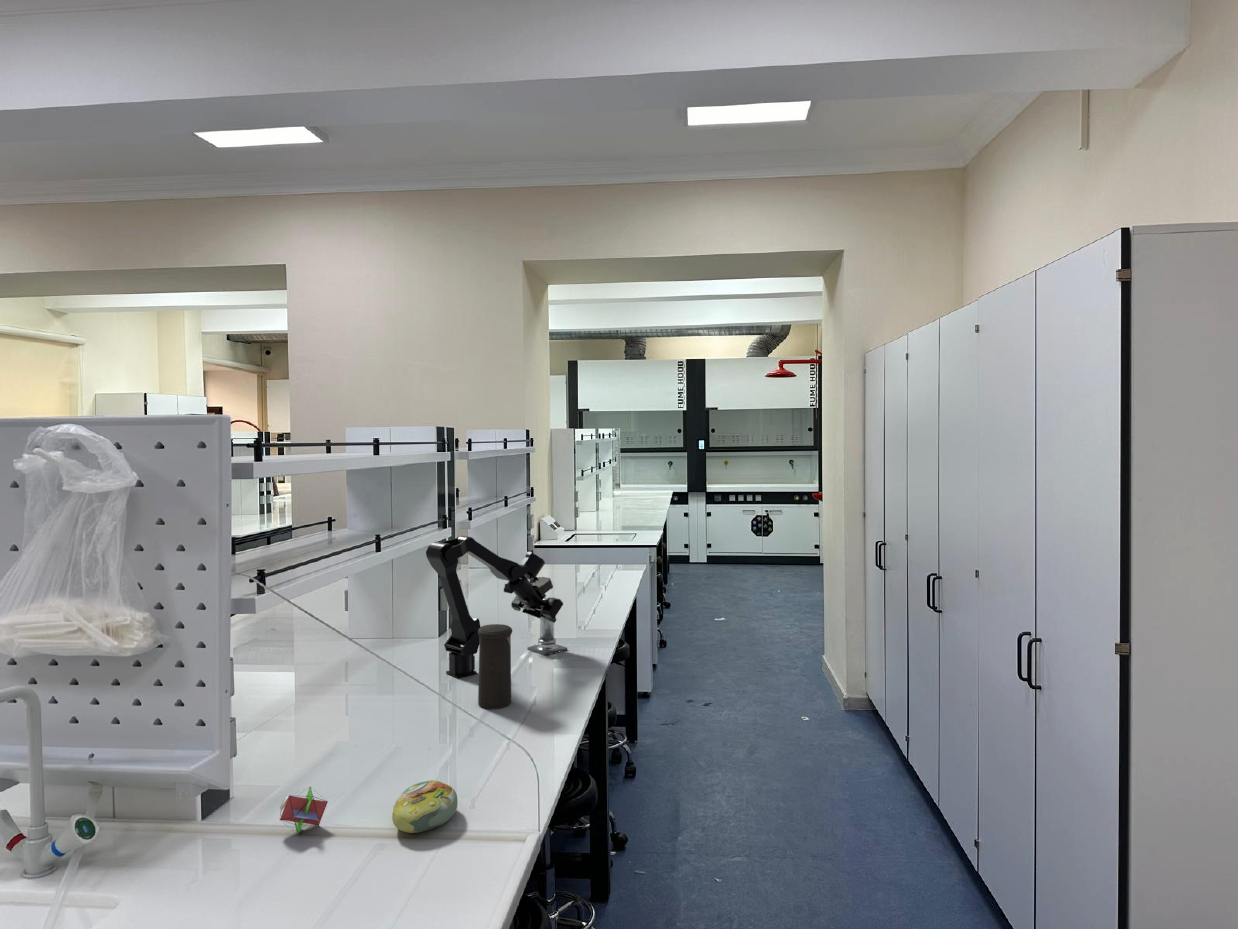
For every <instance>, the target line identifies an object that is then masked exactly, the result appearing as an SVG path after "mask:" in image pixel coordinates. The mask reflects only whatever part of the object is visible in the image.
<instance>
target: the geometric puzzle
mask: <svg viewBox="0 0 1238 929" xmlns="http://www.w3.org/2000/svg"><path fill="white" fill-rule="evenodd" d="M302 790H303V792H305V791H306V790H308V791H307V794H306V795H305V797H302V796H299V795H301V794H302V792H300V794H297V795H296V796H295V795H291V794H290V795H286V797H285V798H284V799H283V800H282V802H281V805H280V814H279V821H281V822H285V823H287V824H288V823H289V824H290V825H295V830H296V835H297V837H299V836H300V835H302V833H305V831H308V830H309V828H311V827H312V826H318V825H319V826H320V823H321V821H322V818H323V815H324V812H325V810H326V808H327V804H328V803H329V801H328V800H326V799H321V798H323V796H322V795H320V797H321V798H319V797H316V796H314V795H313V792H312V787H307V788H306V789H305V788H304V789H302ZM314 791H315V790H314ZM315 792H316V793H317V791H315ZM296 793H298V791H296V792H295V794H296ZM315 798H316V799H315ZM318 799H319V800H318ZM292 822H293V823H292ZM304 824H305V825H309V827H308V828H306V829H305V830H303V831H302V832H300V831H301V829H302V826H303V825H304ZM285 826H286V827H288V826H287V825H286V824H285ZM292 832H294V830H292ZM294 833H295V832H294Z"/></svg>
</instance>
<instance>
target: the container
mask: <svg viewBox="0 0 1238 929" xmlns="http://www.w3.org/2000/svg"><path fill="white" fill-rule="evenodd" d="M480 627H481V628H479V630H478V634H479V636H480V637H479V647H478V650H479V652H478V691H477V692H478V693H477V695H478V698H477V700H478V701H477V702H478V703H477V706H479V707H480V708H483V709H489V710H491V709H492V710H495V709H501V708H505V707H508V706H510V704H512V663H511V662H512V661H511V660H512V658H511V657H512V656H511V654H512V652H511V650H512V649H511V648H512V644H511V642H512V641H511V636H512V633H513V628H512V627H511V626H510V625H506V624H497V623H493V624H486V625H482V626H480Z"/></svg>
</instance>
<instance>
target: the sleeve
mask: <svg viewBox="0 0 1238 929" xmlns="http://www.w3.org/2000/svg"><path fill="white" fill-rule="evenodd" d="M549 598H551V596H550V597H545V598H543V600H547V599H549ZM541 615H542V609H541V610H540V616H541ZM539 620H540V621H539V638H538V639H537V645H539V644H540V645H553V644H557V643H556V642H557V641H556V637H555V623H554V622H552V621H549V620H547V619H545V618H542V617H540V619H539Z"/></svg>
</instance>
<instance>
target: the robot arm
mask: <svg viewBox="0 0 1238 929" xmlns="http://www.w3.org/2000/svg"><path fill="white" fill-rule="evenodd" d="M425 554H426V558H427V561H428V562H429V565H430V566H431V567H432V568H433V570H434V571H435V572H436V573H437V574H438V576H439V579H440V583H441V586H442V589H443V593H444V595H445V599H446V602H447V605H448V608H449V611H450V614H451V618H452V622H451V626H450V632H451V634H450V636H449V637H448V638H447V640H446V642H445V643H444V645H443V646H444V649H445V651H446V652H449V653H448V670H446V671H445V673H446V674H448V675H449V676H452V677H454V678H456V679H461V678H463V677H468V676H472V675H476V674H477V671H476V670H475V669H476V657H475V655H476V654H478V650H479V637H480V636H479V634H478V630H479V628H481V627H482V626H481V622H480V618H478V617H477V618H476V617H474V616H471V614H470V611H469V608H468V606H467V605H468V604H467V602H466V599H465V598H466V597H465V596H464V592H463V589H462V586H461V581H460V579H459V575H458V573H457V569H458V563H459V558H461V557H462V558H463V556H464V555H466V554H467V555H469V556H470V557H472V558H474V559H475V560H477V561H478V562H480V563H481V564H483V565H485V566H486V567H487V568H488V569H489V570H490V573H492V575H493V576H495V577H496V579H498V580H502V581H508V582H507V583H504V587H503V593H508V594H513V593H514V594H515V596H514V599H512V601H511V602H510V603H511V604H510V605H511V608H512V609H513V610H514V611H517V612H522V613H523V614H526V615H529V616H532V617H535V618H538V619H539V620H540V617H542V618H545V619H547V620H549V621H552V622H554V624H555V623H556V621H557V618H556V616H557V615H558V614H559V612H560V610H561V609H562V607H563V606H564V602H563V601H562V599H560V598H557V597H550V598H549V597H548V598H549V599H547V600H543V598H547V595H546V594H547V593H548V592H549V591H551V590H553V588H554V585H553V582H552V580H551V577H545V576H538V574H539V573H540V571H541V570H542V568H543V567H544V565H545V564H546V562H545V560H544V559H543V558H542V557H540V556H539V555H537V554H535V553H534V552H533V551H527V552H526V554H525V555H524V557H523V558H522V560H521V562H520V563H518V562H515V561H513V560H510V559H507V558H504V557H502V556H499V555H498V554H496V553H495V552H494V551H491V550H490V549H489V548H487V547H486V546H484V545H483V544H481V543H480V542H478V541H477V540H476V539H475V538H474V537H471V536H466V535H461V536H457V537H456V538H452V539H448V540H443V541H434V542H431V543H430V544H429V545H428V547H427V549H426V550H425ZM537 576H538V577H537ZM541 609H542V615H541V616H540V610H541ZM521 610H522V611H521Z"/></svg>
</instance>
